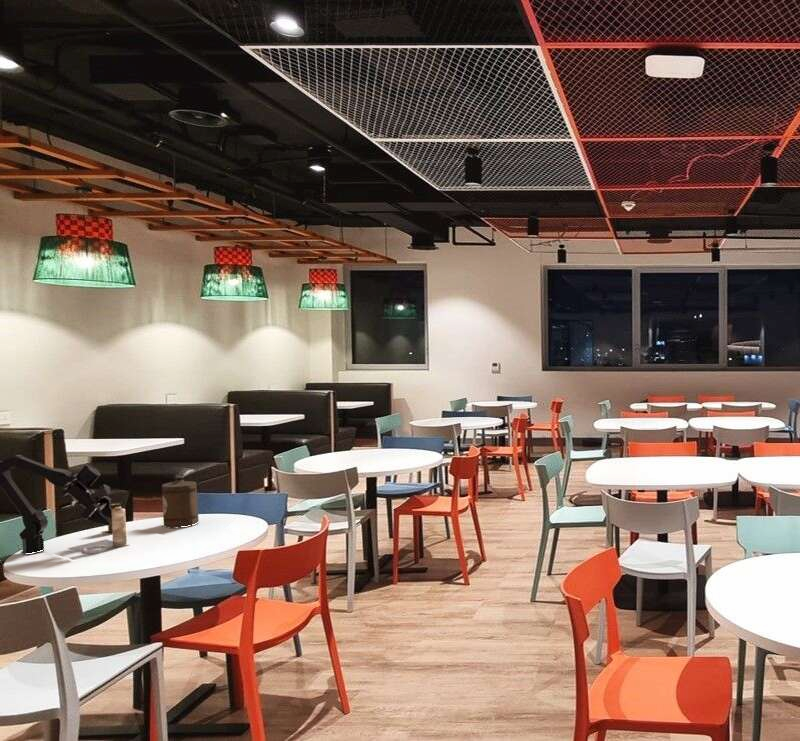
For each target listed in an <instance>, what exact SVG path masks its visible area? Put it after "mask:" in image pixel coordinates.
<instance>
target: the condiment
mask: <svg viewBox="0 0 800 741" xmlns="http://www.w3.org/2000/svg"><path fill="white" fill-rule="evenodd" d="M115 507H122V503H121V502H115V503H111V508H112V510H114V509H115ZM107 520H108V521H109V522H110V524H109V525H107V528H108V530H103V531H102V530H101V533H102V534H103V535H105V536H107V535H113V534H112V519H111V518H109V517H107Z"/></svg>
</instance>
